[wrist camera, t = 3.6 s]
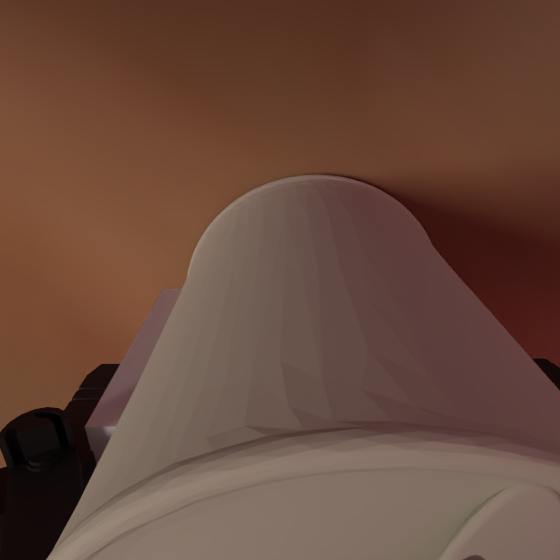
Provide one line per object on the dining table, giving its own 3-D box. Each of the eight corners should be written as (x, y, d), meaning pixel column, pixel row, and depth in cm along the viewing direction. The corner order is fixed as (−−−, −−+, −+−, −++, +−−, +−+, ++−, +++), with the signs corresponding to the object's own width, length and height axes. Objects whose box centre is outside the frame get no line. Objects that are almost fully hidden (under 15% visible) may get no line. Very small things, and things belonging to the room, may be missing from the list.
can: (484, 220, 15) (1038, 618, 4) (379, 419, 19) (515, 904, 8) (221, 135, 14) (-14, 365, 3) (165, 365, 17) (-28, 842, 7)
